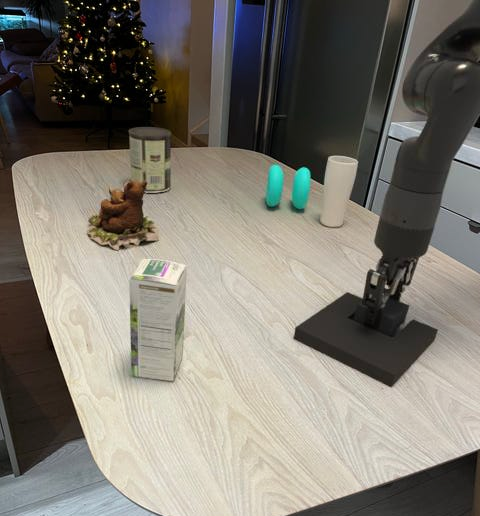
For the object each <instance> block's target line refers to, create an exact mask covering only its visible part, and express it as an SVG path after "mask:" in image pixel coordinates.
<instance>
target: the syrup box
mask: <svg viewBox="0 0 480 516" xmlns="http://www.w3.org/2000/svg"><path fill="white" fill-rule="evenodd" d="M187 270H188V266H187V265H186V264H185V263H184V264H183V263H180V262H175V261H171V260H165V259H155V258H142V260H141V262H140V264H139V265H138V266H137V268H136V269H135V270H134V272H133V274H132V275H131V277H130V279H129V282H128V283H129V285H128V286H129V331H130V333H129V334H130V368H131V369H130V374H131V376H132V377H135V378H136V377H137V378H142V379H143V378H144V379H151V380H152V379H153V380H159V381H167V382H174V381H175V379H176V376H177V374H178V370H179V368H180V365H181V362H182V359H183V356H184V338H185V334H184V333H185V319H186V316H185V315H186V296H187V295H186V293H187Z"/></svg>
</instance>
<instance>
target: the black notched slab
mask: <svg viewBox="0 0 480 516" xmlns="http://www.w3.org/2000/svg"><path fill="white" fill-rule="evenodd" d="M362 300H363V297H360V296H358V295H356V294H353V293H351V292H349V291H346V292H345V293H344V294H342V295H341V296H339V297H338V298H337V299H335V300H333V301H332V302H330V303H329V304H328V305H326V306H324V307H322V308H321V309H320V310H319V311H317V312H316V313H314V314H313V315H311V316H310V317H309V318H307V319H306V320H304V321H303V322H301V323H299V324H298V325H297V326H295V328H294V333H293V339H294V340H296V341H298V342H300V343H302V344H304V345H306V346H308V347H310V348H313V349H314V350H316V351H318V352H320V353H322V354H324V355H326V356H328V357H331V358H332V359H334V360H336V361H339V362H341V363H342V364H344V365H347V366H348V367H350V368H352V369H354V370H356V371H358V372H360V373H362V374H365V375H366V376H369V377H371V378H373V379H374V380H376V381H379V382H381V383H383V384H385V385H386V386H389V387H392V388H393V386H394V385H395V383H396V382H397V381H399V379H400V378H401V377H402V376H403V375H404V374H405V373H406V372H407V371H408V370H409V369H410V367H411V366H412V365H414V363H415V362H416V361H417V360H418V359H419V358H420V357H421V355H422V354H423V353H424V352H425V351H426V350H427V348H429V346H431V344H432V343H433V342H434V341H435V340H436V337H437V334H438V331H439V329H438V328H436V327H433V326H430V325H429V324H427V323H424V322H422V321H418V320H416V319H414V318H412V319H411V320H410V321H409V322H407V324H406V325H405V326H403V327H402V328H401V329H399V331H398V332H397V333H396V334H395V335H394V336H393V337H392V336H391V335H390V336H387V335H385V334H383V333H381V332H378V331H376V330H374V329H372V328H369V327H367V326H365V325H362V324H360V323H358V322H356V321H354V317H355V313H356V308H357V304H359V303H360V302H361V301H362Z"/></svg>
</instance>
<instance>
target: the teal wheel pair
mask: <svg viewBox="0 0 480 516" xmlns="http://www.w3.org/2000/svg"><path fill="white" fill-rule="evenodd" d="M293 177H294V178H293V181H292V189H291V201H292V204H293V207H295V208H296V209H298V210H303V209H304V208H306V206H307V204H308V201H309V197H310V190H311V177H312V176H311V171H310V170H309V168H307V167H300V168H299V169H297V170H296V173H294V176H293ZM266 182H267V183H266V192H265V193H266V194H265V201H266V204H267V206H268V207H272V208H273V207H276V206H277V205H278V204H279V203H280V201H281V199H282V195H283V188H284V172H283V169H282V167H281V166H280V165H278V164H273V165H271V166H270V167H269V169H268V175H267V181H266Z"/></svg>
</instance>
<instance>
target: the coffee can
mask: <svg viewBox="0 0 480 516" xmlns="http://www.w3.org/2000/svg"><path fill="white" fill-rule="evenodd" d="M128 134H129V135H128V136H129V137H128V138H129V157H130V158H129V161H130V181H138V182H140V183H142V182H143V181H144V180H145V181H147V185H146V187H145V192H147V193H155V192H156V193H157V192H164V191H167V190H169V189H170V188H171V189H172V187H171V186H172V185H171V184H172V183H171V181H172V180H171V176H172V175H171V174H172V173H171V168H172V167H171V161H172V160H171V156H172V154H171V151H172V149H171V148H172V147H171V142H172V141H171V137H172V132H171V131H170V130H168V129H166V128H163V127H153V126H138V127H132V128H130V129H129V130H128ZM171 189H170V190H171ZM170 190H169V191H170ZM167 192H168V191H167ZM147 193H146V194H147ZM164 193H165V192H164Z"/></svg>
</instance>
